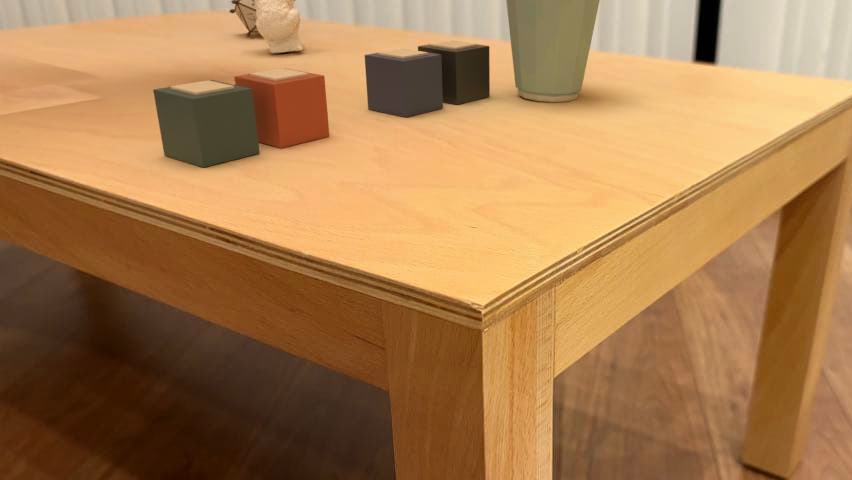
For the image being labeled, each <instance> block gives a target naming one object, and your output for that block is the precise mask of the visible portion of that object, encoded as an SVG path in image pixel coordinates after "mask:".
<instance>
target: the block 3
mask: <svg viewBox="0 0 852 480" xmlns="http://www.w3.org/2000/svg"><path fill="white" fill-rule="evenodd" d="M364 67H365V68H364V69H365V82H366V83H365V84H366V97H367V98H366V99H367V109H368V110H369V111H373V112H374V111H375V112H379V113H385V114H388V115H393V116H399V117H403V118H409V117H413V116H418V115H421V114H425V113H430V112H433V111H438V110H442V109H444V102H443V90H442V55H441V54H434V53H428V52H422V51H418V50H415V49H409V48H397V49H391V50H386V51H385V50H384V51H381V52H379V51H378V52H374V53H368V54H364Z"/></svg>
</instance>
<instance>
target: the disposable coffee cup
mask: <svg viewBox="0 0 852 480" xmlns="http://www.w3.org/2000/svg"><path fill="white" fill-rule="evenodd" d="M600 1H601V0H505V2H506V9H507V17H508V18H507V19H508V29H509V38H510V39H509V40H510V46H511V56H512V65H513V75H514V85H515V88H516V89H517V93H518V96H520V97H521V98H523V99H526V100H532V101H535V102H545V103H546V102H548V103H560V102H571V101H575V100H577V99H578V97H579V93H581V92H582V88H583V82H584V78H585V73H586V68H587V65H588V64H587V63H588V58H589V54H590V49H591V44H592V39H593V34H594V30H595V25H596V20H597V16H598V10H599V5H600Z"/></svg>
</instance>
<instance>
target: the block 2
mask: <svg viewBox="0 0 852 480" xmlns="http://www.w3.org/2000/svg"><path fill="white" fill-rule="evenodd" d="M233 77H234V85H238V86H242V87H247V88H251V89H252V94H253V102H254V110H255V118H256V127H257V135H258V143H260V144H265V145H268V146H272V147H276V148H280V149H283V148H288V147H292V146H296V145H300V144H304V143H308V142H312V141H316V140H321V139H324V138H328V137H330V127H329V126H330V125H329V114H328V113H329V112H328V102H327V91H326V79H325V75H324V74H318V73H312V72H308V71H303V70H297V69H291V68H286V67H281V68H276V69H269V70H263V71H256V72H250V73H246V74H240V75H234V76H233Z"/></svg>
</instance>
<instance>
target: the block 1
mask: <svg viewBox="0 0 852 480" xmlns="http://www.w3.org/2000/svg"><path fill="white" fill-rule="evenodd" d="M152 91H153V97H154V102H155V108H156V115H157V121H158V126H159V133H160V138H161V143H162V151H163V155H164V157H168V158H171V159H175V160H178V161H182V162H184V163H187V164H191V165H194V166H198V167H200V168H207V167H211V166H216V165H219V164H223V163H228V162H231V161H236V160H240V159H243V158H247V157H251V156H255V155H256V156H257V155H259V154H260V151H261V150H260V144H259V143H260V142H258V135H257V127H256V118H255V110H254V102H253V94H252V89H251V88H247V87H242V86H238V85H235V84H233V83H228V82H224V81H219V80H216V79H215V80H213V79H207V80H201V81H195V82H190V83H189V82H188V83H183V84H177V85H171V86H166V87H159V88H154V89H152Z"/></svg>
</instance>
